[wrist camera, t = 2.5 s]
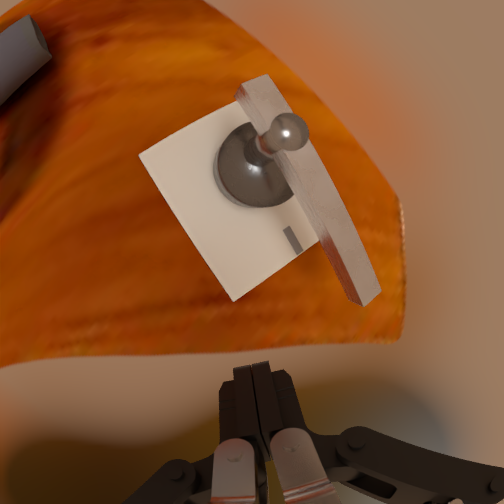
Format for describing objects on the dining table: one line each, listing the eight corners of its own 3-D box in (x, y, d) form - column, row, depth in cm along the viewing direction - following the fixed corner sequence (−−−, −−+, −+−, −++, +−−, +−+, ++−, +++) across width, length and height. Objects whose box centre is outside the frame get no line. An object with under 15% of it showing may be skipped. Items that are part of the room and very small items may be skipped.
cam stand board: (139, 156, 28) (138, 154, 27) (267, 89, 31) (270, 85, 30) (231, 299, 34) (233, 302, 32) (341, 219, 37) (346, 220, 35)
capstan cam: (189, 142, 28) (202, 100, 17) (256, 107, 30) (300, 61, 18) (284, 295, 34) (338, 331, 22) (339, 254, 35) (405, 270, 24)
